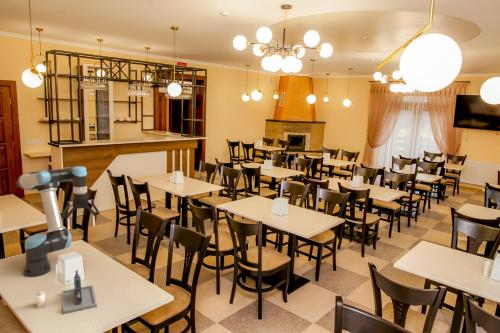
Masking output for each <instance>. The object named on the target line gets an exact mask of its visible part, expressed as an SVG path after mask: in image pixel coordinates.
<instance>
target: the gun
mask: <svg viewBox="0 0 500 333" xmlns="http://www.w3.org/2000/svg"><path fill="white" fill-rule="evenodd" d="M81 280H82V279H81V276H80V274H79V270H77V269H76V270H75V275H74V276H73V282H74V283H73V284H74V285H73V286H74V288H73V289H74V295H75V300H76V303H77V304H78V303H82V292H81V287H82V281H81Z"/></svg>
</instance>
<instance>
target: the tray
mask: <svg viewBox="0 0 500 333" xmlns="http://www.w3.org/2000/svg"><path fill="white" fill-rule="evenodd" d="M74 289H75V288H71V289H65V290H62V291H61V299H62V313H63V315H67V314H71V313H76V312H80V311H85V310H89V309H94V308H97V307H98V306H97V298H96V294H95V291H94V286H93V284H92V285H86V286H81V292H82V303H78V304H77V303H76V300H75V295H74Z"/></svg>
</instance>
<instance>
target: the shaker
mask: <svg viewBox="0 0 500 333" xmlns="http://www.w3.org/2000/svg"><path fill="white" fill-rule="evenodd" d="M35 295H36V307H37V309H43V308H45V307H46V292H44V291H43V290H39V291H38V292H37V293H36V294H35Z"/></svg>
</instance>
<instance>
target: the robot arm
mask: <svg viewBox="0 0 500 333" xmlns="http://www.w3.org/2000/svg"><path fill="white" fill-rule="evenodd" d="M64 182H72V193H73V194H72V197H73V198H72V199H73V201H69V200H68V201H67V205H66V207H65V208H64V211H63V213H62V215H61V211H60V207H59V206H60V205H59V202H58V197H57V193H56V192H57V190H58V187H59V186H60V183H64ZM17 185H18V187H19V188H20V189H22V190H25V191H33V190H37V193H39V194H40V195H41V201H42V205H43V211H44V215H45V220H46V224H47V231H46V234H45V233H37V234H34V235H31V236H28V237H27V238H26V239H25V241H24V250H25V252H24V253H25V262H24V263H25V264H24V268H23V273H22V274H23V275H24V277H27V278H28V277H30V278H33V277H41V276H44V275H46V274H47V273H49V272H51V270H52V266H51V263H50V261H49V259H48V254H50V253H54V252H55V253H56V252H58V251H61V250H64V249H68V248H70V246H71V244H72V239H73V238H72V233H71V231H70V229H71V227H70V216H71V215H72V214H73V213H74V211H76V210H77V209H79V210H80V209H85V208H86V209H87V210H88V211H89V212H90V213H91V214H92V226H93V227H95V226H96V222H97V216H98V215H100V214H101V212H100V211H99V209H98V208H97V206H96V205H95V202H94V200H93V199H88V198H89V196H88V172H87V168H86V166H79V165H78V166H72V167H71V166H66V167H63V168H58V169H49V170H47V169H46V170H40V171H29V172H24V173H23V174H20V176H19V177H18V179H17ZM89 204H90V205H92V208H93V209H94V210H95V211H94V210H93V209H92V208H91V207H90V206H89ZM72 205H73V207H72V208H71V209H70V207H71V206H72ZM69 209H70V210H69ZM68 211H69V212H68ZM62 219H65V224H66V225H67V228H66V226H64V224H63V220H62Z"/></svg>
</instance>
